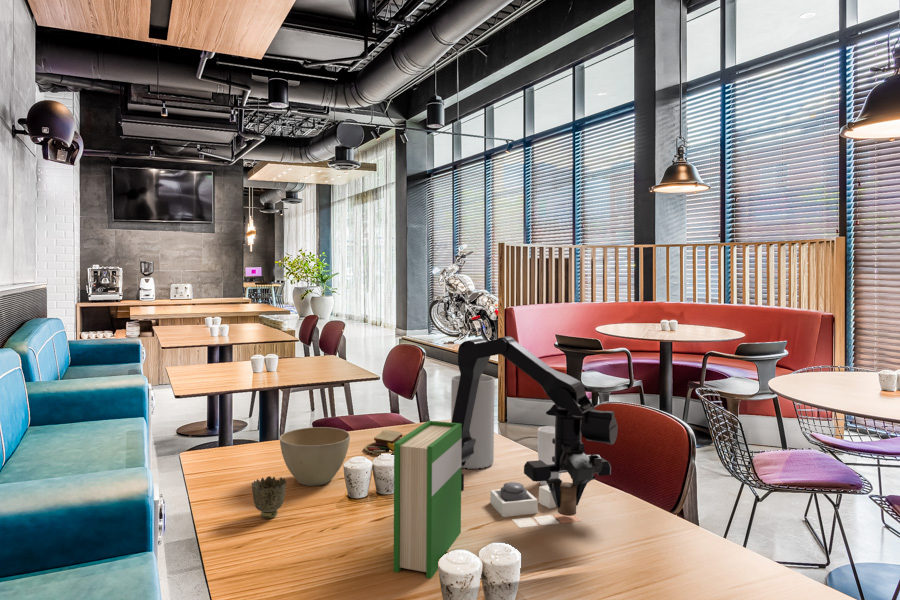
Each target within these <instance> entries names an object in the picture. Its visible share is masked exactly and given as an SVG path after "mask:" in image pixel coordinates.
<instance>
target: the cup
mask: <svg viewBox="0 0 900 600" xmlns="http://www.w3.org/2000/svg"><path fill="white" fill-rule="evenodd" d="M286 485H287V480H286V478H285V477H284V478H283V477H282V476H281V477H280V478H279V479H276V476H273V477H271V476H267V477H266V478H264V477H261V479H260V480H259V479H257V478H256V481H255V480H253V482H251V489H252V499H253V504H254V506H255V508H256V509H257V510H258V511H260V517H261V518H263V519H266V520H267V519H273V518H275V517H277V515H278V510H279V509H280V508H281V507H282V505H283V504H284V501H285V495H286Z"/></svg>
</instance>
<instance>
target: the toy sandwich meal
mask: <svg viewBox="0 0 900 600" xmlns="http://www.w3.org/2000/svg"><path fill="white" fill-rule="evenodd" d="M402 437H403V433H402V432H400V431H396V430H392V429H391V430H390V429H389V430H388V429H386V430H385V429H384V430H382V431H381V432H379V433H378V434H377V435H376V436H375V437H374V438H373V440H374V441H375V442H371V443H368V444H366V445H365V446H364V450H365V451H366V452H367V453H368V452H369V453H368V454H370V453H372V454H371V455H374V454H381V453H392V454H393V455H394V443H395V442H396V441H398V440H399V439H401V438H402ZM389 450H391V451H392V452H389Z"/></svg>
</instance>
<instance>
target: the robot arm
mask: <svg viewBox="0 0 900 600" xmlns="http://www.w3.org/2000/svg"><path fill="white" fill-rule="evenodd" d="M498 355H501V356H502V357H504V358H505V359H507V360H508V361H509V362H511V363H512V364H513V365H515V366H516V367H517V368H519V369H520V370H521V371H522V372H523V373H525V374H526V375H527V376H529V377H530V378H531V379H533V380H534V381H535V382H537V383H538V384H539V385H540V387H542V389H543V391H544V393H545V395H546V396H547V397H548V398H549V400H551V401H552V403H553V405H552V406H551V407H550V408H549V409H548V410H547V411H546V412H545V414H546V415H547V416H553V417H555V418H554V419H555V420H554V427H555V438H552V443H553V444H555V456H552V461H553V462H554V464H552V465H547V464H545V463H544V462H543V461H541V460H539V459H538V460H529V461H526V462H525V463H524V466H523V474H524V475H525V476H526V477H528V479H530V480H531V481H532V482H537V483H539V482H540V481H546V482H547V484H548V486H549V489H550V491H551V494H552V496H553V499H554V502H555V504H556V506H557V507H556V508H557V509H558V508H560V485H561V483H562V482H563V480H561V478H560V479H559V473H561V474H562V473H568V474H569V477H570V478H571V480H572V481H571V483H573V484H575V485H576V486H577V491H576V507H577V506H578V505H579V502H580V501H581V498H582V495H583V493H584V491H585V488H586V486H587V485H588V483H590V482H591V481H595V480H596V478H597V477H596V476H595V475H594V474H597V475H598V476H601V477H603V476H610V475H612V465H611V463H610V462H609V461H608V460H606V459H605V458H603V457H601V456H600V454H586V450H585V443H583V442H582V437H583V438H584V439H585V440H586V441H590V442H597V443H601V444H608V445H614V444H615V443H616V441H617V438H618V433H619V432H618V431H619V426H618V423H617V419H616V417H615V411H611V410H597V409H595V406H594V404H593V402H591V400H590V398H589V397H588V395H587V393H586V389H585V385H584V384H583V383H582V382H581V380H578V379H577V378H575V377H573V376H571V375H569V374H567V373H564V372H560V371H558V370H556V369H554V368H552V367H551V366H550V365H549V364H547V363H546V362H544V361H543V360H541V359H540V358H539V357H537V356H536V355H535V354H533V353H532V352H531V351H530V350H528V349H527V348H525V347H524V346H523V345H521V344H520V343H519V342H518V341H516V340H515V338H514V337H512V336H511V335H510V336H508V335H507V336H501V337H498V338H496V339H492V340H487V339H484V338H476V339H469V340H465V341H463V342H462V343H460V344H459V347H458V349H457V366H458V369H459V372H460V373H459V375H460V380H459V385H458V390H457V396H456V401H455V406H454V411H453V417H452V422H451V421H450V423H460V424H462V452H461V467H462V466H464V465H465V463H466V460H468V459H469V458H470V456H471V455H472V454H474V445H475V442H476V439H474V438H471V435H470V432H469V429H470V424H471V419H472V414H473V409H474V404H475V399H476V394H477V389H478V384H479V379H480V376H481V375H483V373H484V371H485V369H486V368H487V366H488V364H489V361H490V358H491V357H493V356H498ZM560 468H561V469H560ZM464 478H465V475H464V474H463V468H461V492H462V491H464V490H465V487H464V486H465V484H464V483H465V479H464Z"/></svg>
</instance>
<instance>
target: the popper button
mask: <svg viewBox="0 0 900 600" xmlns="http://www.w3.org/2000/svg"><path fill="white" fill-rule="evenodd" d="M500 489H501V496H500V497H501V498H502V499H503V500H504V501H505V502H509V501H518V500H526V499H527V491H528V490H527V489H526V488H525V486H524V484H522V483H520V482H515V481H513V482H512V481H511V482H510V481H509V482H505V483H504V484H503V486H502V487H500Z"/></svg>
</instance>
